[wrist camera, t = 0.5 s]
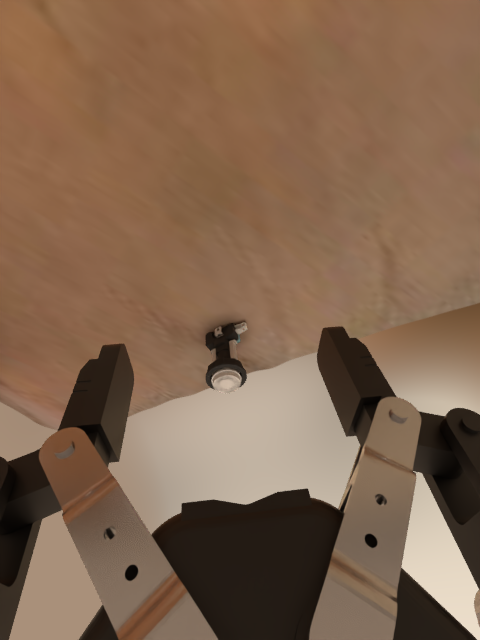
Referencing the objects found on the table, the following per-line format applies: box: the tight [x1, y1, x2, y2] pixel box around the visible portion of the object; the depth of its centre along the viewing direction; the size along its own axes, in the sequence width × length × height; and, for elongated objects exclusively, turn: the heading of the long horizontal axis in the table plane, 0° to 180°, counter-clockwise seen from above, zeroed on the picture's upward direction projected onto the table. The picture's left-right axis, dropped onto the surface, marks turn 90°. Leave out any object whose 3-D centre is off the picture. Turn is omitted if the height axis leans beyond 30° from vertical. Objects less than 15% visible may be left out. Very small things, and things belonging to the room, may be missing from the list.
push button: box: [206, 322, 247, 393], centre depth 45 cm, size 7×5×10 cm
